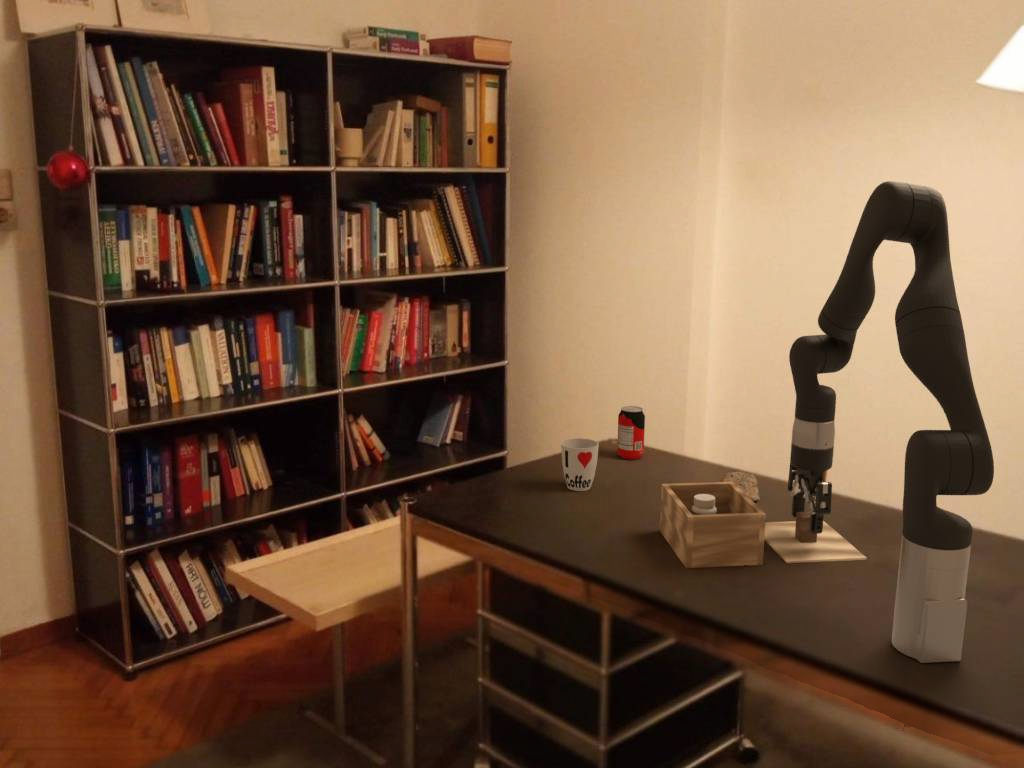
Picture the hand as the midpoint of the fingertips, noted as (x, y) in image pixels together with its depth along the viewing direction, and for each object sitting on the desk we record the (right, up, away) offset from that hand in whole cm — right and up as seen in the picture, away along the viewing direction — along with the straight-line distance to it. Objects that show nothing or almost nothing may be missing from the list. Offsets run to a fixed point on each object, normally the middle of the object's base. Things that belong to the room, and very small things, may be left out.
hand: (806, 524), depth 187 cm
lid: (0, -4, +1) cm, 4 cm away
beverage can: (-27, +9, +53) cm, 60 cm away
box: (-19, -4, -2) cm, 19 cm away
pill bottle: (-19, -3, +2) cm, 20 cm away
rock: (-6, +2, +26) cm, 27 cm away
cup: (-41, +4, +31) cm, 51 cm away
